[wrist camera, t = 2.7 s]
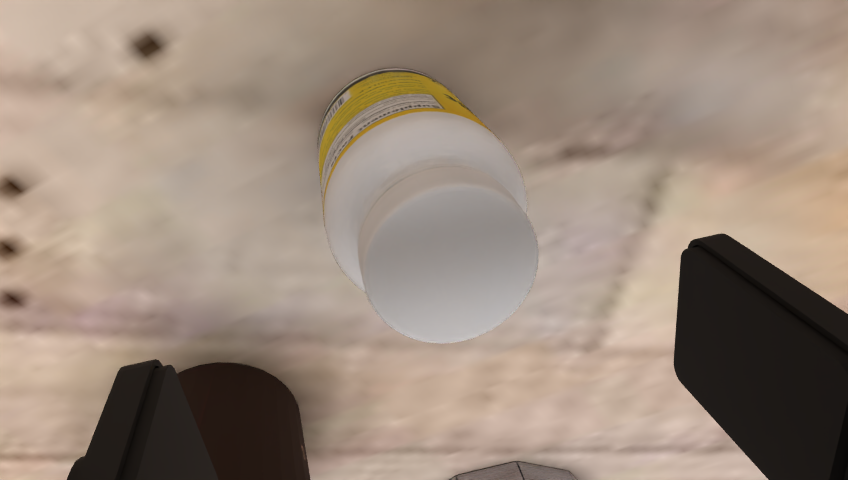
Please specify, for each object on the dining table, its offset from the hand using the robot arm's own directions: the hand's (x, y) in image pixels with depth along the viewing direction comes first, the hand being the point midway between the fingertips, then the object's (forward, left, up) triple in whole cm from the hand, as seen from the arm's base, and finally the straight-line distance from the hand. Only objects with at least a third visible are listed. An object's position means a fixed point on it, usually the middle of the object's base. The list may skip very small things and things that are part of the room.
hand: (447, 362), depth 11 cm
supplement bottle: (0, +1, -13) cm, 13 cm away
